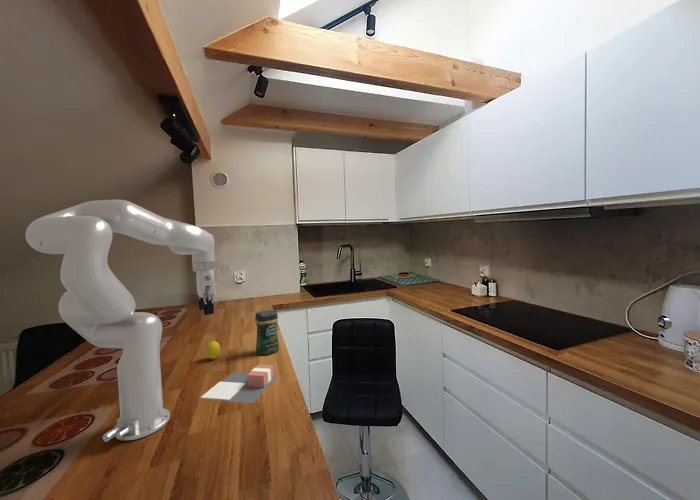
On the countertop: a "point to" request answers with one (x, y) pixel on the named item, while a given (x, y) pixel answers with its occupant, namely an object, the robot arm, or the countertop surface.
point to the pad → (223, 390)
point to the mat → (244, 389)
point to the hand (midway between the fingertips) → (206, 311)
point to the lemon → (212, 350)
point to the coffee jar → (266, 332)
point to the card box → (260, 376)
